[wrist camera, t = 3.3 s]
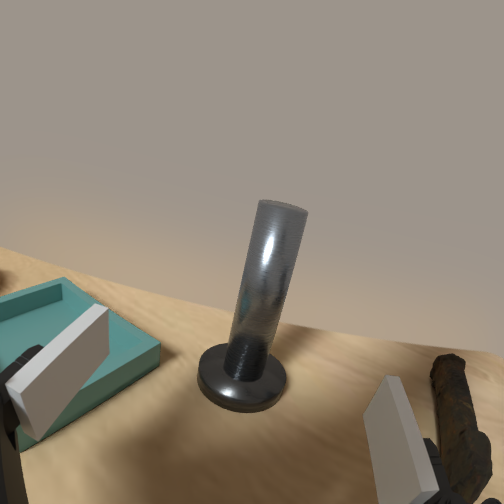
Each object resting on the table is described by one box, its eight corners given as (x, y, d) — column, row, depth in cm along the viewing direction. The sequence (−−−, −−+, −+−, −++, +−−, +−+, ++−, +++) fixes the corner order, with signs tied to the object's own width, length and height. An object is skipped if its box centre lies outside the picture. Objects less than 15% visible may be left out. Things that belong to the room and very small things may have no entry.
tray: (159, 365, 24) (160, 342, 24) (20, 452, 12) (8, 429, 11) (65, 297, 30) (64, 276, 29) (-47, 337, 17) (-54, 314, 17)
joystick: (293, 378, 26) (345, 217, 22) (259, 426, 20) (322, 230, 16) (225, 346, 29) (258, 191, 25) (179, 383, 23) (207, 194, 18)
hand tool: (424, 376, 29) (442, 342, 28) (453, 386, 28) (472, 352, 27) (414, 519, 13) (455, 483, 11) (458, 525, 11) (501, 490, 10)
